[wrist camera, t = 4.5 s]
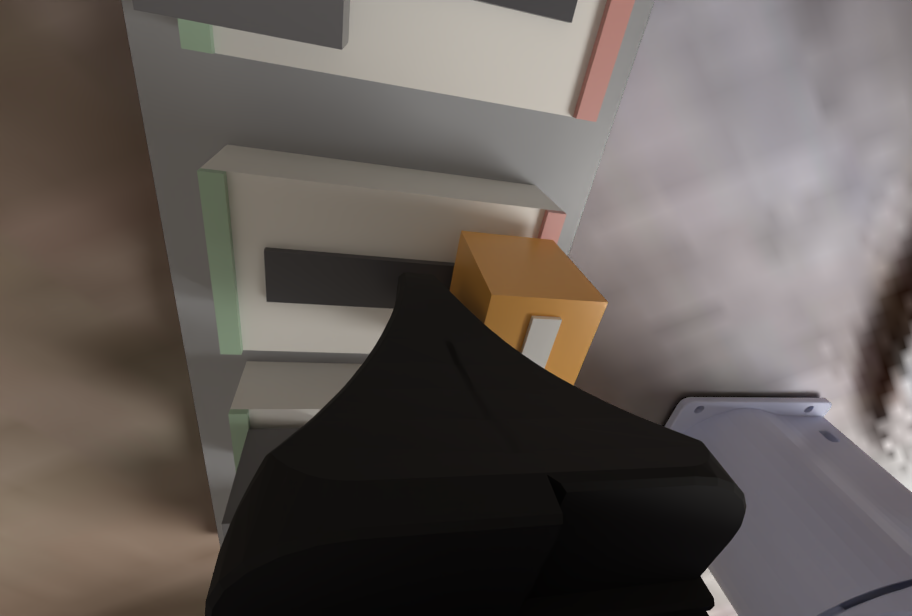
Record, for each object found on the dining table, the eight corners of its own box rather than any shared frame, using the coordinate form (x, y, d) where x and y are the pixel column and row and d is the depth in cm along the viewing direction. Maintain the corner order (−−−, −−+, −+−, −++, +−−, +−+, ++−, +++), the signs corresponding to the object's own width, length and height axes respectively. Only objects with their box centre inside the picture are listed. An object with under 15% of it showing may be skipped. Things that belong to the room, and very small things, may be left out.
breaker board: (663, -103, 11) (970, -234, 5) (466, 519, 24) (497, 664, 19) (98, -292, 8) (-498, -1003, 2) (229, 535, 21) (182, 712, 16)
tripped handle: (552, 239, 11) (610, 304, 8) (517, 352, 13) (556, 434, 10) (461, 230, 10) (493, 297, 8) (438, 349, 12) (457, 435, 10)
